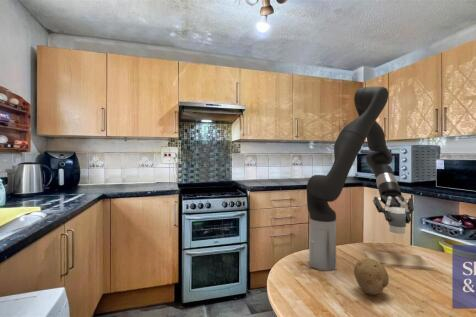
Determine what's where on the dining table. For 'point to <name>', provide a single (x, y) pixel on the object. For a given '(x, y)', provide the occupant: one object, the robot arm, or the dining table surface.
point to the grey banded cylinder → (397, 220)
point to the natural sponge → (371, 276)
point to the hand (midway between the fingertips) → (399, 221)
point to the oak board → (400, 260)
